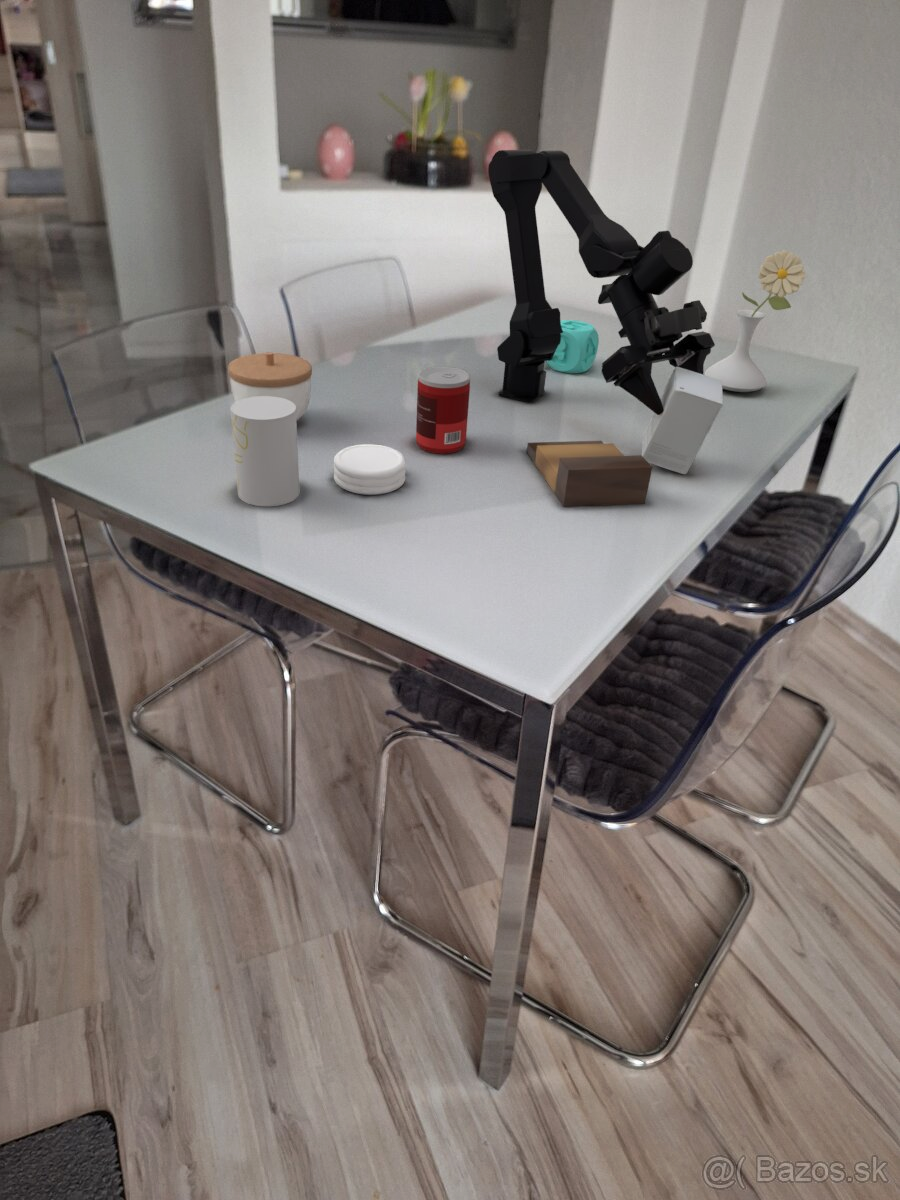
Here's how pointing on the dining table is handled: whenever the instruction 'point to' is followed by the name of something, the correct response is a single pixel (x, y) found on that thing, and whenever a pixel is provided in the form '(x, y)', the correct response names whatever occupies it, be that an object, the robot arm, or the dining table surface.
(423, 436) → the canned food
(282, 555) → the dining table surface
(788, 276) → the flower in vase
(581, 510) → the dining table surface
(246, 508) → the dining table surface
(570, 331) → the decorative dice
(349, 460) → the coaster
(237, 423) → the cup
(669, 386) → the white packaging box
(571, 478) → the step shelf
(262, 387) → the lidded bowl
